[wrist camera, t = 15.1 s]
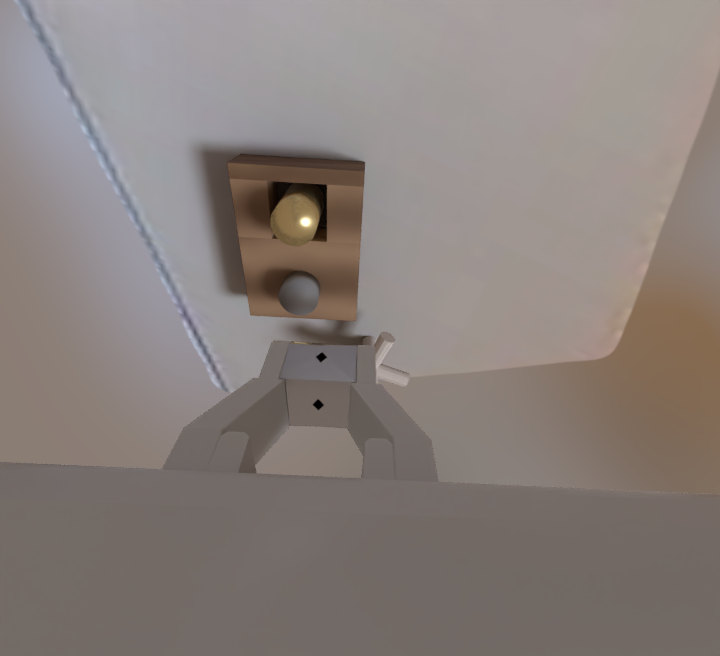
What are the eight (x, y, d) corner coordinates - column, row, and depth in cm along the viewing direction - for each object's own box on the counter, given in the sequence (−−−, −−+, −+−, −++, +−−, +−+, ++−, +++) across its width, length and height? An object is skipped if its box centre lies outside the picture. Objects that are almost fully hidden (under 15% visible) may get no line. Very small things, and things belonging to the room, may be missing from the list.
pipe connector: (386, 377, 51) (390, 435, 43) (321, 355, 49) (312, 412, 41) (420, 326, 46) (432, 381, 37) (349, 299, 43) (345, 351, 35)
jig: (240, 154, 34) (217, 168, 29) (364, 162, 34) (364, 178, 29) (259, 297, 43) (244, 327, 38) (356, 302, 44) (355, 333, 38)
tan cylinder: (283, 179, 35) (268, 200, 30) (324, 181, 35) (316, 202, 30) (286, 218, 38) (272, 245, 32) (324, 220, 38) (316, 247, 32)
